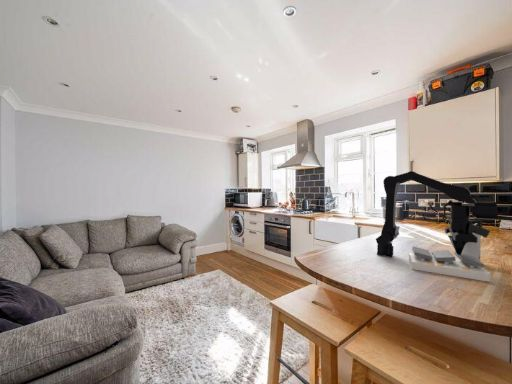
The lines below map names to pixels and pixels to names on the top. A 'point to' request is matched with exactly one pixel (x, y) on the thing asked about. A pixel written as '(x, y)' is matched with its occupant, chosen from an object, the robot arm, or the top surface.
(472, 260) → the plate
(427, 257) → the rocker
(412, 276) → the top surface
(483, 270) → the switch unit
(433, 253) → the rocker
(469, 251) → the travel mug
